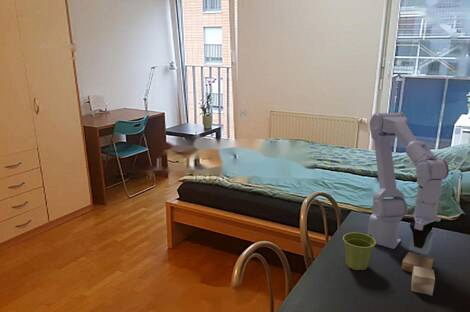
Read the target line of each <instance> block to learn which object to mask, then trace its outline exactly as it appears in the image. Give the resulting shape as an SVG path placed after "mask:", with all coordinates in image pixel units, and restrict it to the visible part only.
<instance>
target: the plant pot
mask: <svg viewBox="0 0 470 312" xmlns="http://www.w3.org/2000/svg"><path fill="white" fill-rule="evenodd" d="M342 241H343V242H344V247H345V248H344V249H345V262H346V265H347V267H348V268H349V269H350V270H355V271H360V270H361V271H364V270H367V269H368V266H369V262H370V259H371V255H372V252H373V249H374V247H375V246H376V245H377V244H376V241H375V239H374V238H372V237H371V236H369V235H367V233H362V232H361V233H360V232H349V233H345V234H344V235H343V236H342Z"/></svg>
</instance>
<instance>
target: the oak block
mask: <svg viewBox="0 0 470 312" xmlns="http://www.w3.org/2000/svg"><path fill="white" fill-rule="evenodd" d="M433 263H434V258H429V257H426V256H423V255H420V254H416V253H413V252H410V251H408V253H407V254H406V255H405V256H404V258H403V259H402V262H401V270H403V271H406V272H408V273H412V274H413V267H414V266H417V267H422V268H427V269H432V268H433Z"/></svg>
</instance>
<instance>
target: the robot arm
mask: <svg viewBox="0 0 470 312" xmlns="http://www.w3.org/2000/svg"><path fill="white" fill-rule="evenodd" d="M369 127H370V136H371V139H372V140H373V144H374V152H375V160H376V161H375V162H376V169H377V177H378V185H379V190H377V192H376V193H374V194H373V196H372V198H373V199H372V207H371V208H372V212H373V213H371V215H370V216H369V219H368V223H367V233H366V235H369V236H371V237H372V238H374V239H375V241H376V244H375V245H379V246H383V247H385V248H389V249H392V250H395V249H396V248H397V246H398V245H399V243H400V242H401V241H402V240H401V238H398V237H399V233H400V232H399V231H400V224H401V220H403V218H404V217H405V216H406V215H407V213H408V210H409V208H408V207H409V206H408V203H407V201H406V199H405V194H404V192H402V191H401V190H399V189H398V188H397V181H396V173H395V165H394V158H393V151H392V141H393V140H395V138H398V140H400V142H401V143H403V145H404V146H405V147H406V149H405V153H406V155H407V156H408V158H409V159H410V160H411V162H412V163H413V164H414V166H415V175H416V184H417V186H418V187H417V191H416V192H417V193H416V199H415V206H414V212H413V214H412V215H413V220H414V222H413V221H410V224H409V228H410V230H411V233H413V239H414V247H417V248H421V249H422V248H423V246H424V244H425V241H426V238H427V236H428V234H429V233H430V232H432V231H433V228H434V225H435V224H436V223H437V222H440V221H441V216H437V214H438V210H439V209H438V208H439V203H440V196H441V190H442V183H443V180H445V179H447V178H448V176H449V174H450V168H449V164H448V162H447V161H446V160H445V159H444V158H439V157H438V156H435V154H434V153H433V152H432V151H431V149H430V148H429V147H428V145H427V144H426V142H425V141H422V140H417V138H416V137H415V135H414V134H413V132H412V130H411V129H410V127H409V126H408V118H407V117H406V115H405V114H404V113H403V112H402V111H399V112H375V113H374V114H372V116H371V118H370V121H369Z"/></svg>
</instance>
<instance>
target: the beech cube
mask: <svg viewBox="0 0 470 312" xmlns="http://www.w3.org/2000/svg"><path fill="white" fill-rule="evenodd" d="M435 282H436V277H435V270H434V269H432V268H431V269H427V268H422V267H417V266H414V267H413V273H412V274H411V291H412V292H415V293H420V294H424V295H428V296H433V293H434V289H435Z"/></svg>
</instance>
